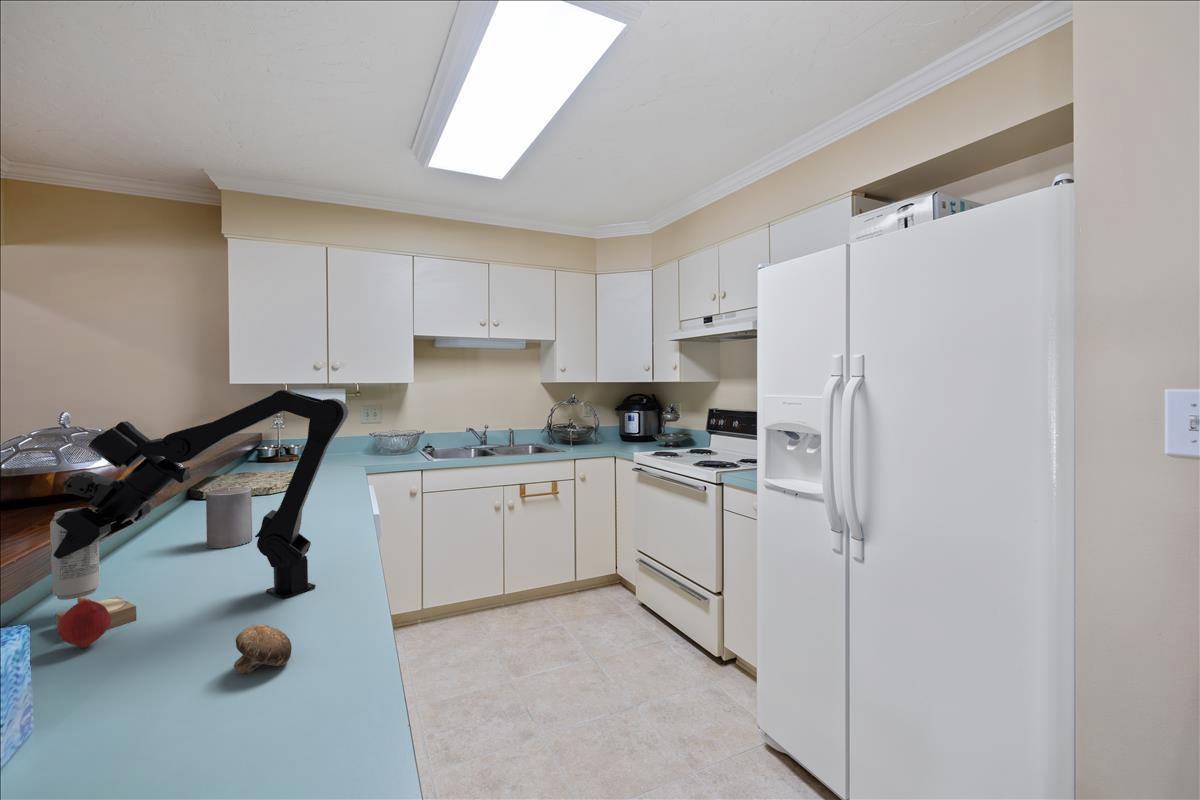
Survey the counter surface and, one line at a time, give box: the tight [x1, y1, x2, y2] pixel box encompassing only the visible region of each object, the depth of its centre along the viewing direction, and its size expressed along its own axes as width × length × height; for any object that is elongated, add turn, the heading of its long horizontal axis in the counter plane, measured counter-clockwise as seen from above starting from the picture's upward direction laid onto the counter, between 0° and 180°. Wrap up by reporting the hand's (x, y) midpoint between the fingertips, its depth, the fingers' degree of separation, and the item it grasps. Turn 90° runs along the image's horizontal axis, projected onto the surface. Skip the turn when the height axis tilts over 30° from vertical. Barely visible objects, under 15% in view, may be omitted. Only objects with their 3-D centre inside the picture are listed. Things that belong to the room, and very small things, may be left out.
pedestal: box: [55, 596, 137, 630], centre depth 90 cm, size 8×8×3 cm
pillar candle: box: [205, 485, 253, 549], centre depth 136 cm, size 10×10×15 cm
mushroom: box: [233, 624, 292, 675], centre depth 77 cm, size 8×8×6 cm
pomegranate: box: [57, 596, 111, 649], centre depth 82 cm, size 6×6×8 cm
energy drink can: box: [49, 507, 101, 601], centre depth 94 cm, size 6×6×15 cm
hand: (68, 551), depth 94 cm, fingers closed on energy drink can, 6 cm apart
